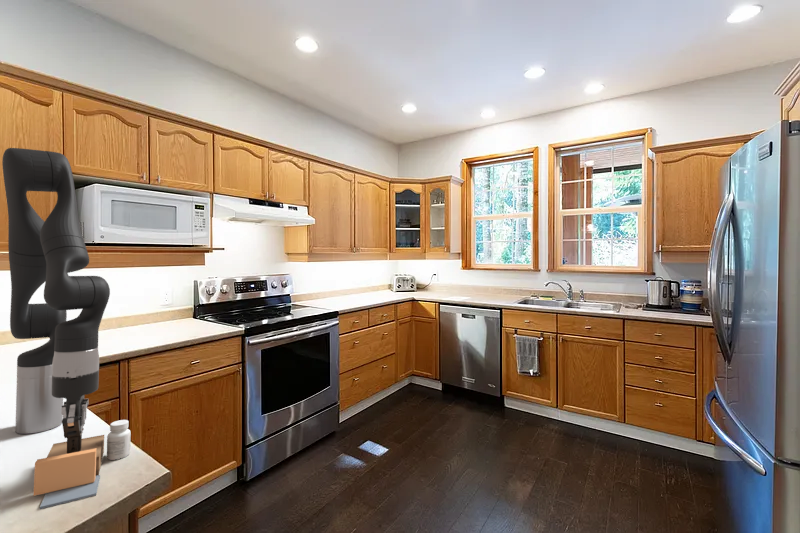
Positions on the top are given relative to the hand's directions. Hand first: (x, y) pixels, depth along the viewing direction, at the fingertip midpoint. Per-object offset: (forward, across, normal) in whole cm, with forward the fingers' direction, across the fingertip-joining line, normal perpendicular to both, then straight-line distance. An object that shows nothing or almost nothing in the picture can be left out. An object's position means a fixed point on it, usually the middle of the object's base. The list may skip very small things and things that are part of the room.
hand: (74, 452), depth 80 cm
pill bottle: (+5, -5, +7) cm, 10 cm away
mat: (+5, +7, +1) cm, 9 cm away
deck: (+5, -3, 0) cm, 6 cm away
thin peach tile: (+1, +4, 0) cm, 4 cm away
